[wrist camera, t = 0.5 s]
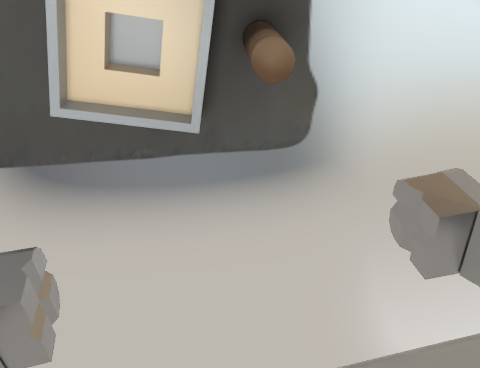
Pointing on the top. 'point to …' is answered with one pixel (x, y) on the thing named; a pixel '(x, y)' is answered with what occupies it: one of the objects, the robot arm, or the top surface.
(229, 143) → the top surface
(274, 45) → the peg
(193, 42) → the bore box
